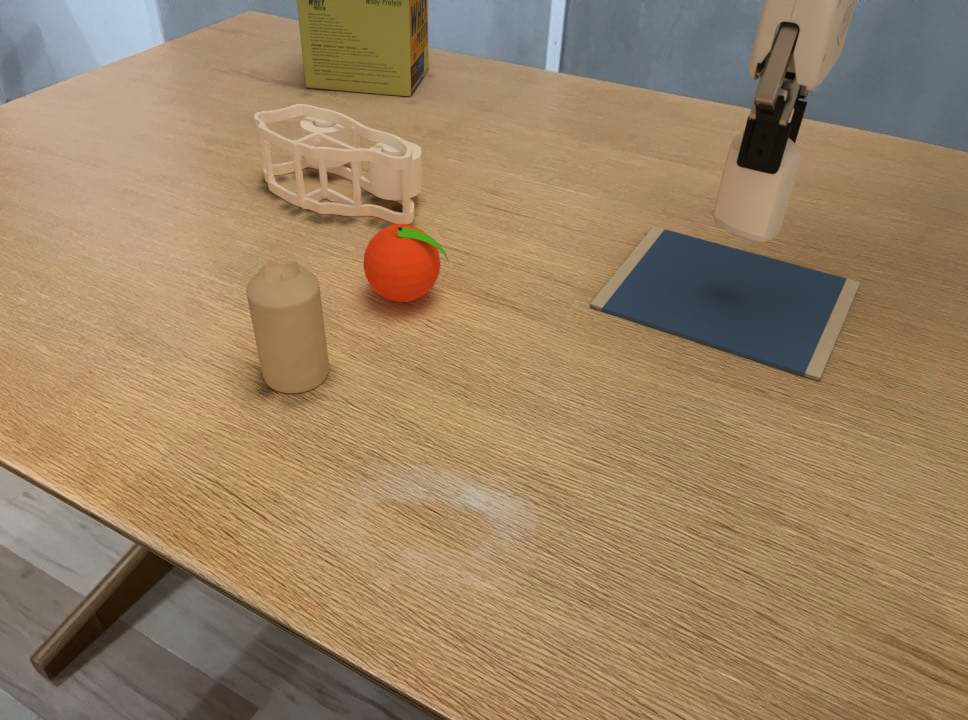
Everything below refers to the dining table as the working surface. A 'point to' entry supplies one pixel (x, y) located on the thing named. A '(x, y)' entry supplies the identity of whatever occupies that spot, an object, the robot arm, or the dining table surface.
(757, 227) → the eye dropper bottle
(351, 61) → the protein box
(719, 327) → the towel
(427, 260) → the clementine
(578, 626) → the dining table surface
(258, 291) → the candle
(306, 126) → the cream open lattice frame
